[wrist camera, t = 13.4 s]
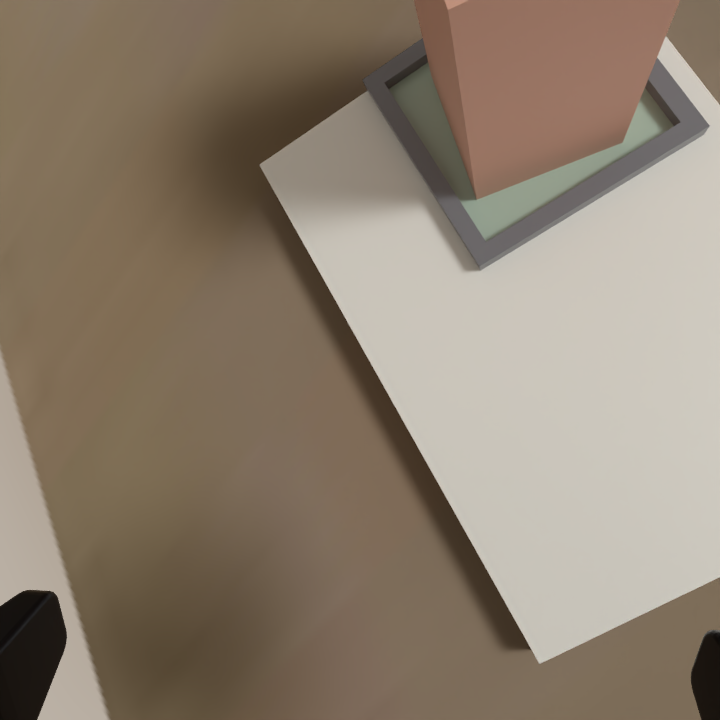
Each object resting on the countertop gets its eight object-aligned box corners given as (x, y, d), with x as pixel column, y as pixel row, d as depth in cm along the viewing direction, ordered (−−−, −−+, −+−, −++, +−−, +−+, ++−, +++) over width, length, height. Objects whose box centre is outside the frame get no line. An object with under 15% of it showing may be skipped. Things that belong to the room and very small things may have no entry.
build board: (956, 446, 18) (1004, 449, 16) (538, 650, 20) (540, 671, 18) (583, -39, 22) (590, -78, 20) (269, 175, 24) (251, 155, 23)
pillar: (622, 142, 20) (746, -163, 9) (476, 199, 21) (443, -21, 10) (569, 14, 21) (628, -396, 10) (431, 75, 22) (358, -243, 11)
